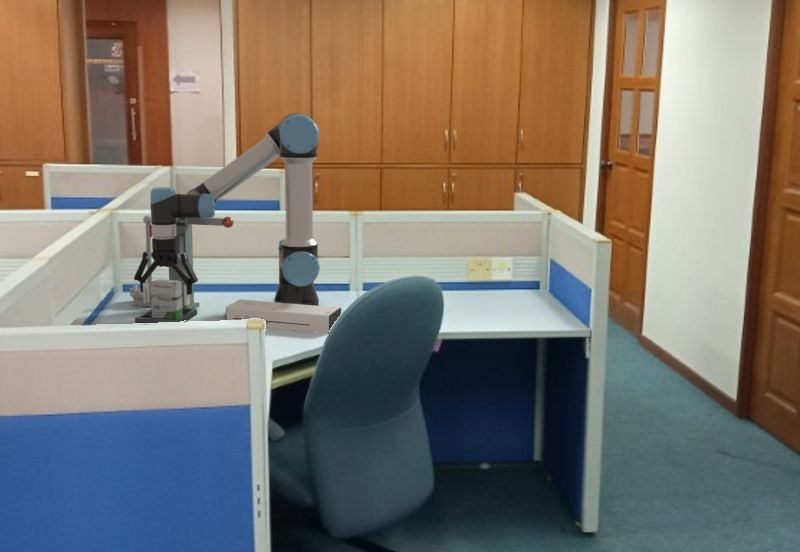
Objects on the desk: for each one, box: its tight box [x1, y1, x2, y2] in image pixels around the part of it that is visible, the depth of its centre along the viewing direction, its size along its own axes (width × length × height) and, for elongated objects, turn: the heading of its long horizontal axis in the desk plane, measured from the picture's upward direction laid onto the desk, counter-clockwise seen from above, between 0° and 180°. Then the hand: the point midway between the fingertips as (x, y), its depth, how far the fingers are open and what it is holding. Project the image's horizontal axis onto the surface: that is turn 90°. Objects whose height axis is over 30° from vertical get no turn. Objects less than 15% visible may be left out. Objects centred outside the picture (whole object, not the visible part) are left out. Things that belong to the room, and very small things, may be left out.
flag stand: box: [129, 214, 153, 308], centre depth 311 cm, size 13×13×30 cm
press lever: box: [176, 216, 234, 229], centre depth 301 cm, size 21×5×4 cm, turn 81°
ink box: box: [151, 278, 183, 319], centre depth 293 cm, size 9×5×12 cm, turn 73°
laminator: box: [225, 299, 342, 334], centre depth 289 cm, size 34×12×6 cm, turn 75°
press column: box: [168, 224, 200, 309], centre depth 304 cm, size 9×11×28 cm
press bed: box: [134, 308, 198, 324], centre depth 293 cm, size 14×16×2 cm
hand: (166, 303), depth 292 cm, fingers open, 13 cm apart
